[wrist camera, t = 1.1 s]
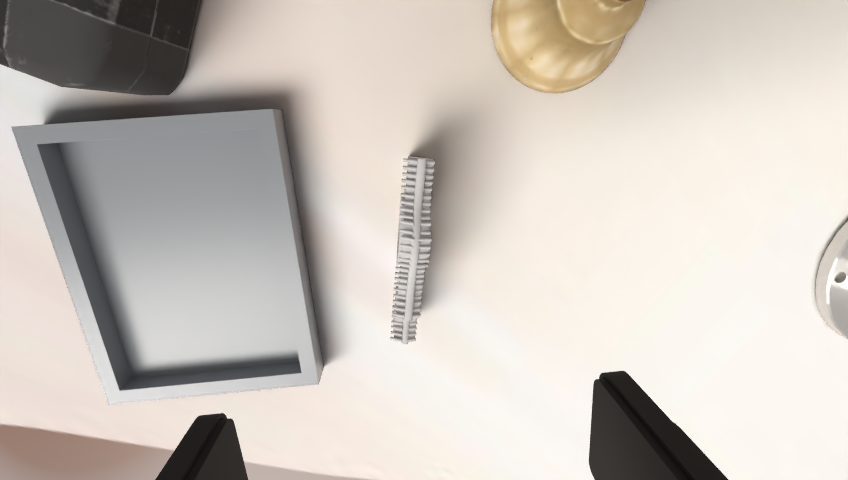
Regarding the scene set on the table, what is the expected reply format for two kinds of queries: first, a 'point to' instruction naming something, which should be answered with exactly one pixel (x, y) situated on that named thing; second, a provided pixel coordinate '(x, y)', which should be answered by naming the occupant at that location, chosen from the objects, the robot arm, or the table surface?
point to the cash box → (99, 42)
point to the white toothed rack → (412, 247)
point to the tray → (180, 250)
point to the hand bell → (560, 39)
